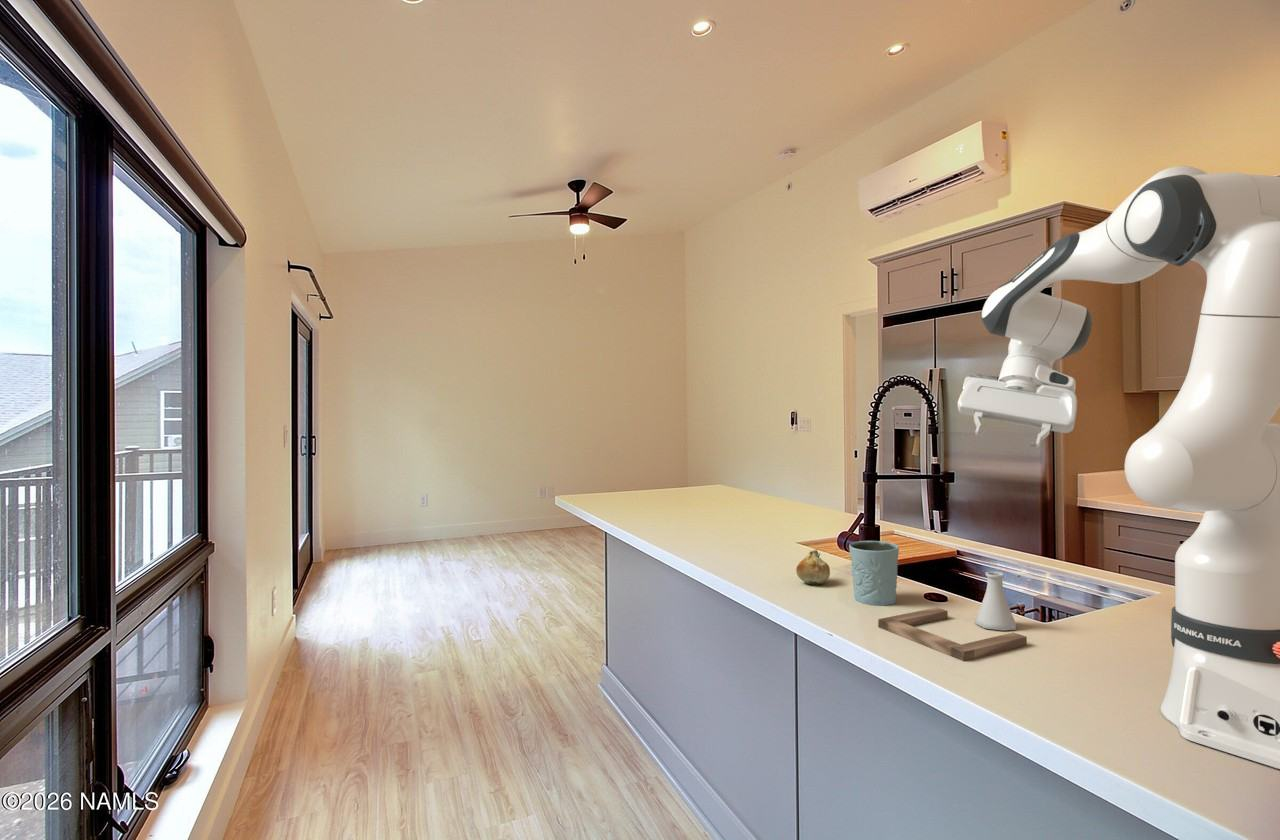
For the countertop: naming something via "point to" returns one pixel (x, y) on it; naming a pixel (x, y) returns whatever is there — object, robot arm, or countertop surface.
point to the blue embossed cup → (874, 572)
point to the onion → (813, 569)
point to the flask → (995, 606)
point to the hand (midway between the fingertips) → (1005, 440)
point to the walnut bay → (963, 652)
